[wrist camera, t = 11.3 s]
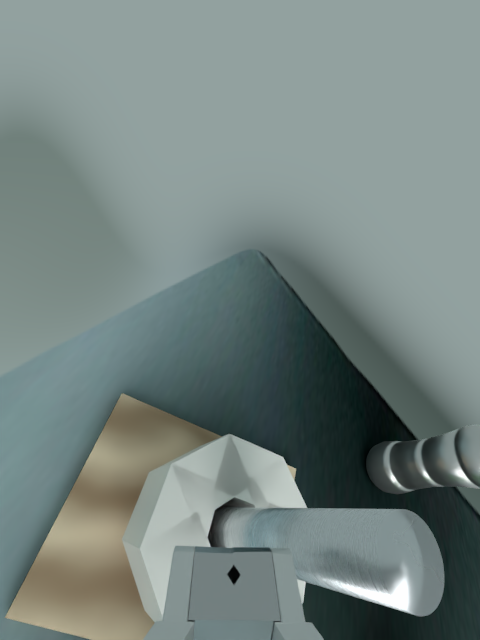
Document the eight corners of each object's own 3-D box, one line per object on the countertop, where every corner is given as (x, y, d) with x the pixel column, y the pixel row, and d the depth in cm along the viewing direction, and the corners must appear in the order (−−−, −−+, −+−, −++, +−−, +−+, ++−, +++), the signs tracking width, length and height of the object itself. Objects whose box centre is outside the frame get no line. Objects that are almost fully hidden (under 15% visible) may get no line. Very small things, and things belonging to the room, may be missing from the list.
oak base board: (254, 675, 30) (262, 682, 29) (7, 612, 25) (4, 617, 24) (289, 469, 40) (296, 468, 39) (119, 396, 35) (122, 393, 34)
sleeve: (244, 638, 26) (294, 674, 20) (98, 597, 23) (110, 625, 18) (274, 478, 33) (318, 472, 27) (165, 432, 30) (189, 415, 25)
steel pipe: (204, 575, 30) (493, 712, 10) (140, 554, 29) (329, 666, 9) (225, 499, 34) (465, 491, 14) (168, 478, 32) (346, 434, 13)
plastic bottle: (351, 459, 45) (509, 435, 29) (377, 435, 49) (528, 402, 33) (378, 505, 44) (558, 505, 28) (402, 476, 47) (572, 462, 32)
